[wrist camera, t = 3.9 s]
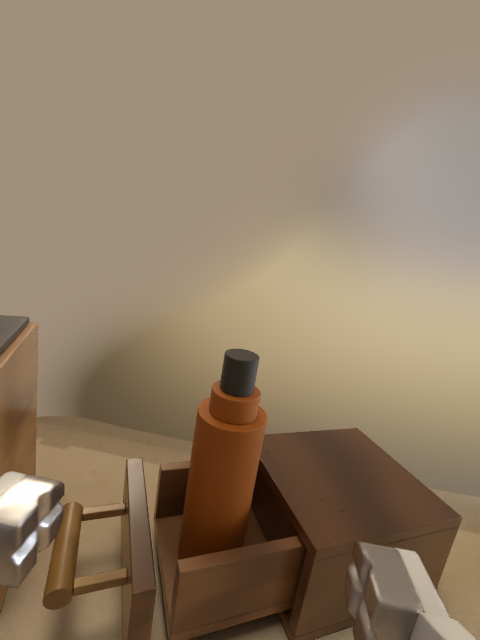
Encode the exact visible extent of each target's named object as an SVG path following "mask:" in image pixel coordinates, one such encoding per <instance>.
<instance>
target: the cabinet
mask: <svg viewBox="0 0 480 640" xmlns="http://www.w3.org/2000/svg"><path fill="white" fill-rule="evenodd" d="M258 466H259V468H260V470H261V471H262V473H263V475H264V477H265V478H266V480H267V482H268V483H269V485H270V487H271V488H272V490H273V492H274V494H275V495H276V497H277V499H278V500H279V502H280V504H281V506H282V507H283V509H284V511H285V512H286V514H287V516H288V518H289V519H290V521H291V523H292V524H293V526H294V528H295V530H296V531H297V533H298V535H299V536H300V538H301V540H302V542H303V543H304V545H305V547H306V548H307V553H306V557H305V561H304V565H303V569H302V573H301V577H300V581H299V585H298V589H297V593H296V597H295V601H294V605H293V608H292V609H289V610H285V611H282V612H279V613H278V614H279V616H280V618H281V621H282V623H283V626H284V628H285V631H286V633H287V635H288V638H289V640H312V639H315V638H318V637H321V636H324V635H327V634H330V633H333V632H336V631H338V630H341V629H344V628H347V627H350V626H353V625H354V624H355V619H354V617H353V616H352V615H351V613H350V612H349V611H348V607H347V602H346V595H345V576H346V572H347V568H348V565H350V564H351V563H353V562H354V559H353V555H352V550H353V546H354V544H355V543H356V541H361V542H366V543H371V544H377V545H382V546H387V547H392V548H399V549H404V550H410V551H415V552H416V553H417V554H418V555H419V557H420V559H421V561H422V563H423V565H424V567H425V569H426V571H427V573H428V575H429V577H430V579H431V581H432V583H433V585H434V588H435V590H436V588H437V585H438V583H439V580H440V577H441V574H442V572H443V569H444V566H445V564H446V561H447V558H448V555H449V553H450V550H451V547H452V545H453V542H454V539H455V536H456V534H457V531H458V528H459V526H460V523H461V520H462V517H461V516H460V515H459V514H458V513H457V512H456V511H454V510H453V509H452V508H451V507H450V506H448V505H447V504H446V503H445V502H444V501H443V500H441V499H440V498H439V497H438V496H437V495H435V494H434V493H433V492H432V491H431V490H430V489H428V488H427V487H426V486H425V485H424V484H423V483H421V482H420V481H419V480H418V479H417V478H415V477H414V476H413V475H412V474H411V473H410V472H408V471H407V470H406V469H405V468H404V467H402V466H401V465H400V464H399V463H398V462H397V461H395V460H394V459H393V458H392V457H391V456H390V455H388V454H387V453H386V452H385V451H384V450H382V449H381V448H380V447H379V446H378V445H377V444H375V443H374V442H373V441H372V440H371V439H369V438H368V437H367V436H366V435H365V434H364V433H362V432H361V431H360V430H359V429H358V428H352V429H338V430H324V431H309V432H295V433H281V434H266V435H264V439H263V444H262V449H261V455H260V460H259V465H258Z"/></svg>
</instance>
